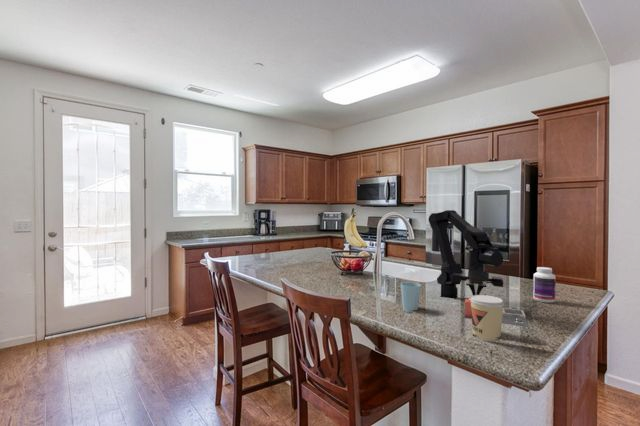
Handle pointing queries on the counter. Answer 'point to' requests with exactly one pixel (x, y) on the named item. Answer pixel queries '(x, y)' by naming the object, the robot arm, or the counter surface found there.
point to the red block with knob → (468, 307)
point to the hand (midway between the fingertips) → (475, 301)
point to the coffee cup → (486, 317)
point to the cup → (410, 296)
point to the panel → (510, 317)
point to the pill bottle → (544, 285)
